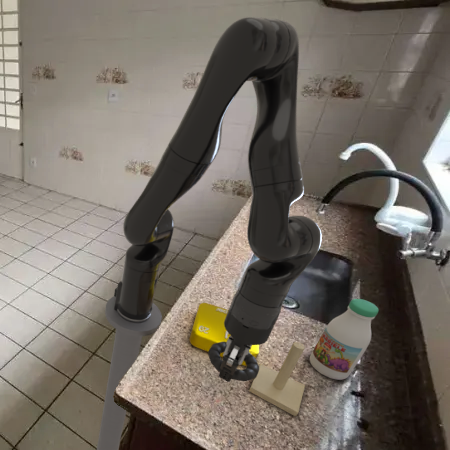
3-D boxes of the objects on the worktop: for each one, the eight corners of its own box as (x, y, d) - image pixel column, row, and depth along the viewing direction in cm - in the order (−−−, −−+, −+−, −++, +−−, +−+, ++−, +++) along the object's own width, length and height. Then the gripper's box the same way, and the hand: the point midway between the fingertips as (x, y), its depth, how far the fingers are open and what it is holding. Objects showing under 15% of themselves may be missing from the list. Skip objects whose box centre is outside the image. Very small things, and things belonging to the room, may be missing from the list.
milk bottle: (320, 351, 90) (355, 289, 81) (355, 374, 84) (397, 311, 74) (301, 360, 88) (334, 298, 78) (335, 385, 81) (376, 321, 72)
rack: (248, 391, 80) (269, 346, 73) (258, 367, 86) (278, 323, 79) (295, 416, 75) (323, 370, 68) (302, 389, 80) (328, 344, 73)
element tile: (255, 331, 96) (261, 318, 94) (253, 370, 85) (259, 356, 83) (197, 311, 103) (200, 298, 101) (187, 344, 92) (191, 331, 90)
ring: (201, 364, 76) (203, 357, 75) (215, 340, 82) (218, 333, 81) (250, 391, 71) (253, 384, 70) (261, 363, 77) (265, 356, 76)
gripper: (241, 287, 73) (218, 345, 81) (219, 322, 64) (196, 384, 72) (283, 304, 68) (254, 364, 76) (266, 345, 59) (235, 408, 68)
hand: (226, 373), depth 74 cm, fingers closed on ring, 2 cm apart
